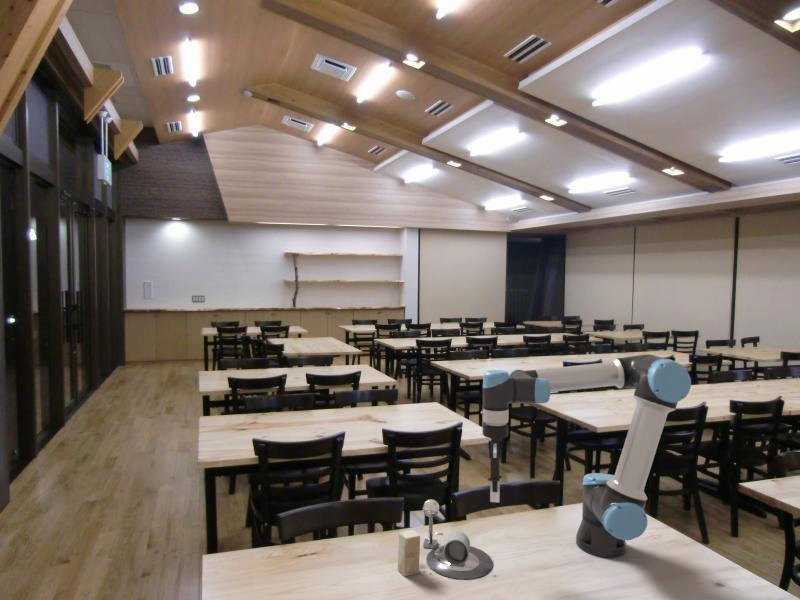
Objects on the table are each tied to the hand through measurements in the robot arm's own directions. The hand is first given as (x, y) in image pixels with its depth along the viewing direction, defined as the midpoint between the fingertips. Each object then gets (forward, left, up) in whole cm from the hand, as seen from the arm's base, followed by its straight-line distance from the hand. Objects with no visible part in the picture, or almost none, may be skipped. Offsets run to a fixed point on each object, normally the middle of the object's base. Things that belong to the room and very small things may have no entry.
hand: (494, 501), depth 157 cm
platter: (+10, 0, -19) cm, 22 cm away
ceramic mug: (+12, 0, -19) cm, 23 cm away
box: (+24, +9, -20) cm, 32 cm away
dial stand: (+20, -8, -19) cm, 29 cm away
